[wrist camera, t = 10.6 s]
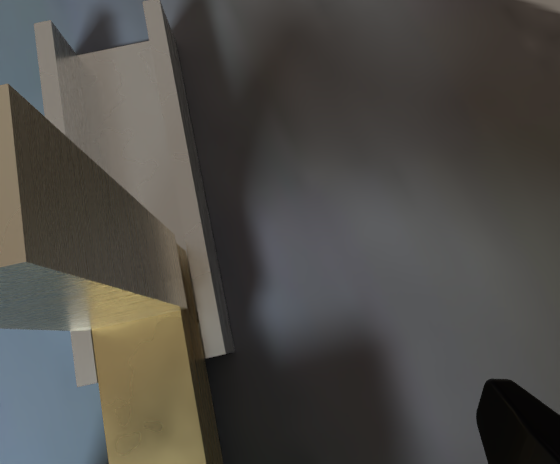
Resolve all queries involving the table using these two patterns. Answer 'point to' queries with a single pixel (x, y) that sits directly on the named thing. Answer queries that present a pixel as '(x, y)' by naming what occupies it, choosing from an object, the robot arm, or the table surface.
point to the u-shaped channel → (139, 152)
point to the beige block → (103, 289)
